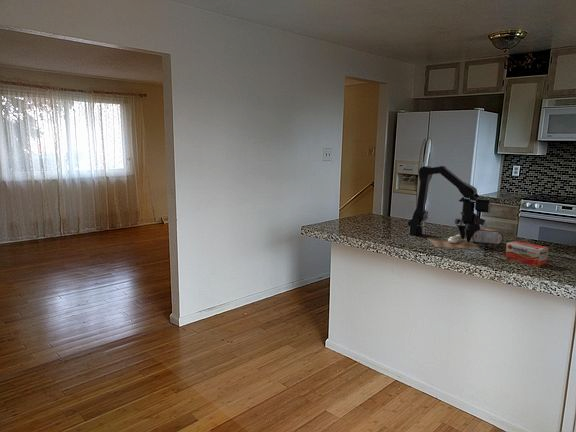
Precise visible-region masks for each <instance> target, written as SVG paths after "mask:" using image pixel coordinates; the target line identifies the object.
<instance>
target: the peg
mask: <svg viewBox="0 0 576 432" xmlns="http://www.w3.org/2000/svg"><path fill="white" fill-rule="evenodd" d="M447 238H448V242H449V243H457V239H462V238H461V235H460V233H458V234H455V235H453V236H449V237H447Z"/></svg>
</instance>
